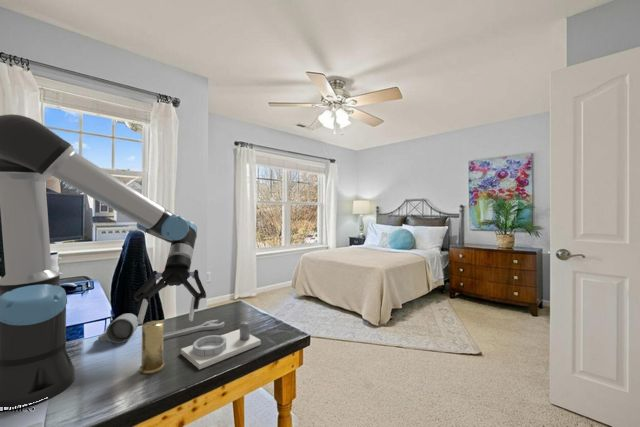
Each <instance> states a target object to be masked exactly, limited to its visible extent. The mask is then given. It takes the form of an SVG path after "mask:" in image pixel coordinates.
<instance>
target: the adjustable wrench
mask: <svg viewBox="0 0 640 427" xmlns="http://www.w3.org/2000/svg"><path fill="white" fill-rule="evenodd" d="M219 322H220V320H219V319H212V320H211V319H210V320H207V321H205V322H204V323H202V324H200V325H199V324H198V325H196V326H193V327H187V328H183V329H178V330H175V331H169V332H165V333H163V341H165V340H169V339H173V338H176V337H181V336H185V335H190V334H194V333H198V332H201V331H210V330H211V331H212V330H219V329H222V328H224V327H225V321H222V322H220V323H219Z"/></svg>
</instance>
